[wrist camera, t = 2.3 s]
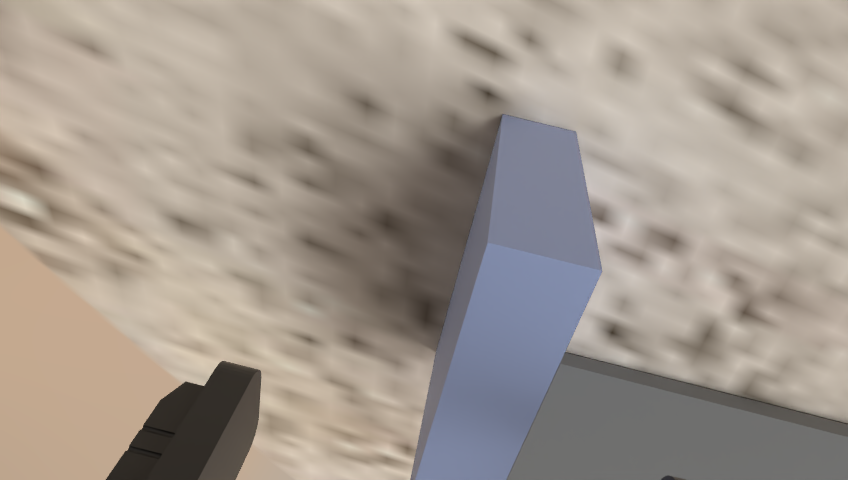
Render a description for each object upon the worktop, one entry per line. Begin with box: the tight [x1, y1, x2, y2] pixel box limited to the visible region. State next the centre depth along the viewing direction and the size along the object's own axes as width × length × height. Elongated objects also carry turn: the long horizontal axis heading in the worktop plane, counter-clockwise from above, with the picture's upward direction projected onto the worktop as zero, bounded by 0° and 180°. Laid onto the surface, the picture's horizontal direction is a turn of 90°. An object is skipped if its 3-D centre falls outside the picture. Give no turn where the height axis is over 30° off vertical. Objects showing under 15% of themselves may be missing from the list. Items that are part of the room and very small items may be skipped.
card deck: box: [411, 114, 602, 480], centre depth 15 cm, size 2×9×6 cm, turn 169°
